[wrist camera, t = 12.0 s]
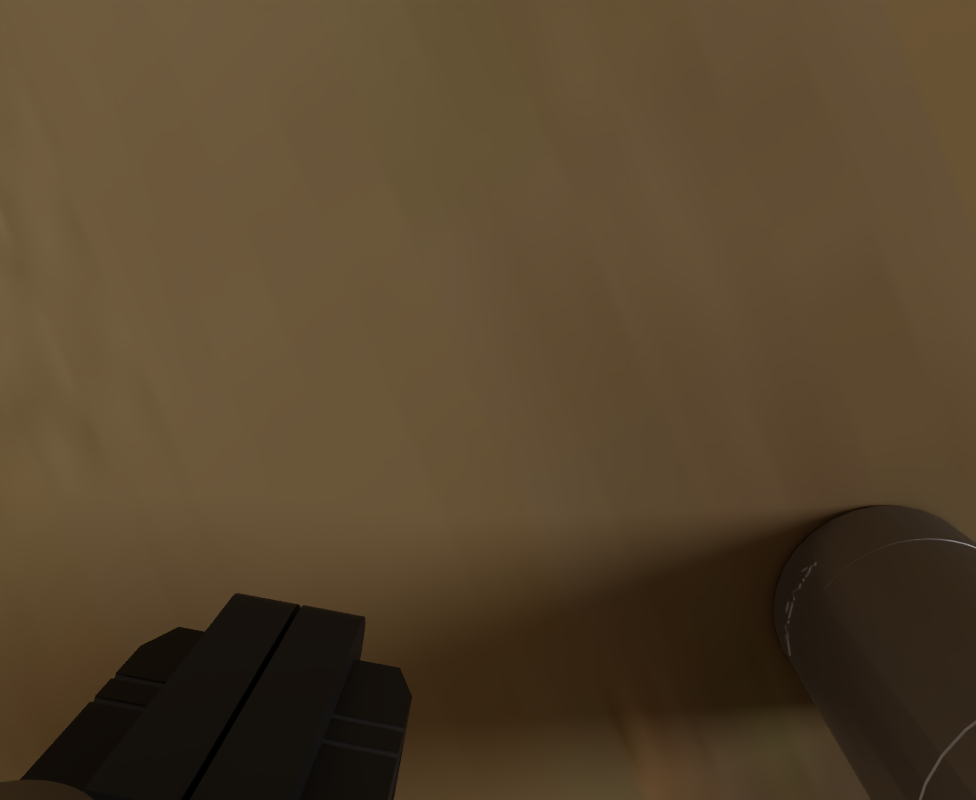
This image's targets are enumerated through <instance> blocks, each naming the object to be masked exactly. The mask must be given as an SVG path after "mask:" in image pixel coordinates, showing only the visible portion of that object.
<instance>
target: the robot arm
mask: <svg viewBox="0 0 976 800" xmlns="http://www.w3.org/2000/svg"><path fill="white" fill-rule="evenodd" d="M773 609H774V621H775V629H776V632H777V635H778V638H779V641H780V644H781V647H782V649H783V650H784V652H785V654H786V655H787V657H788V659H789V661H790V662H791V664H792V666H793V667H794V669H795V671H796V673H797V674H798V676H799V678H800V679H801V681H802V683H803V685H804V686H805V688H806V690H807V691H808V693H809V695H810V697H811V699H812V701H813V703H814V704H815V706H816V708H817V709H818V711H819V713H820V714H821V716H822V718H823V719H824V721H825V723H826V725H827V726H828V728H829V730H830V731H831V733H832V735H833V736H834V738H835V740H836V741H837V743H838V745H839V747H840V748H841V750H842V752H843V753H844V755H845V757H846V758H847V760H848V762H849V763H850V765H851V767H852V769H853V770H854V772H855V774H856V775H857V777H858V779H859V780H860V782H861V784H862V785H863V787H864V789H865V790H866V792H867V794H868V796H869V797H870V799H871V800H976V543H975V542H974V541H972V540H971V539H970V538H968V537H967V536H965V535H964V534H963V533H961V532H960V531H958V530H957V529H955V528H954V527H953V526H951V525H950V524H948V523H947V522H946V521H944V520H943V519H941V518H939V517H936V516H934V515H932V514H929V513H927V512H925V511H922V510H918V509H913V508H908V507H903V506H874V507H869V508H864V509H859V510H854V511H851V512H849V513H847V514H844V515H842V516H839V517H837V518H834V519H832V520H830V521H829V522H827V523H826V524H824V525H823V526H821V527H820V528H818V529H817V530H815V531H814V532H812V533H811V534H810V535H809V536H808V537H807V538H806V539H805V540H804V541H803V542H802V543H801V544H800V545H799V546H798V547H797V548H796V550H795V551H794V553H793V554H792V556H791V557H790V559H789V560H788V562H787V563H786V565H785V566H784V569H783V571H782V574H781V576H780V579H779V581H778V584H777V586H776V593H775V599H774V606H773ZM364 631H365V617H364V616H358V615H353V614H348V613H342V612H337V611H331V610H326V609H321V608H315V607H310V606H305V605H304V606H302V607H301V608H300V606H299V605H298V604H293V603H287V602H282V601H277V600H271V599H266V598H261V597H255V596H250V595H245V594H239V593H236V594H235V595H234V596H233V597H232V598H231V599H230V600H229V602H228V603H227V604H226V605H225V607H224V608H223V609H222V611H221V612H220V613H219V615H218V616H217V617H216V618H215V620H214V621H213V622H212V624H211V625H210V626H209V627H208V629H207V630H206V631H205V632H203V631H198V630H192V629H187V628H182V627H178V628H176V629H174V630H172V631H170V632H168V633H166V634H164V635H162V636H160V637H158V638H155V639H153V640H151V641H149V642H147V643H145V644H143V645H141V646H140V647H139V648H138V649H137V650H136V651H135V652H134V654H133V655H132V656H131V657H130V658H129V659H128V660H127V661H126V662H125V664H124V665H123V666H122V667H121V668H120V669H119V670H118V671H117V672H116V676H115V678H114V679H112V678H111V679H110V680H109V681H108V682H107V684H106V685H105V686H104V687H103V688H102V689H101V690H100V691H99V692H98V694H97V695H96V696H95V700H94V702H89V704H88V705H87V706H86V707H85V708H84V709H83V710H82V711H81V712H80V714H79V715H78V716H77V717H76V718H75V719H74V720H73V721H72V722H71V724H70V725H69V726H68V727H67V728H66V729H65V730H64V731H63V732H62V734H61V735H60V736H59V737H58V738H57V739H56V740H55V741H54V742H53V744H52V745H51V746H50V747H49V748H48V749H47V750H46V751H45V752H44V754H43V755H42V756H41V757H40V758H39V759H38V760H37V761H36V762H35V764H34V765H33V766H32V767H31V768H30V769H29V770H28V771H27V772H26V774H25V775H24V776H23V777H22V778H21V779H20V780H13V781H6V782H0V800H394V795H395V790H396V784H397V778H398V773H399V767H400V761H401V756H402V750H403V745H404V739H405V733H406V728H407V722H408V716H409V711H410V705H411V700H412V695H411V693H410V691H409V688H408V686H407V684H406V681H405V679H404V677H403V674H402V672H401V670H400V668H397V667H392V666H387V665H381V664H376V663H371V662H365V661H360V657H361V651H362V645H363V638H364Z"/></svg>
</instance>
